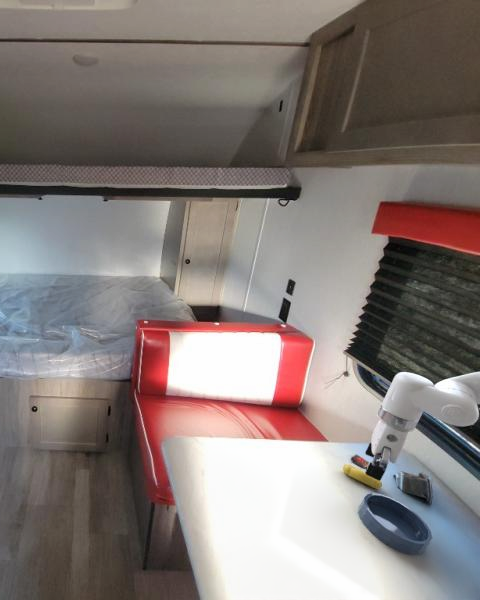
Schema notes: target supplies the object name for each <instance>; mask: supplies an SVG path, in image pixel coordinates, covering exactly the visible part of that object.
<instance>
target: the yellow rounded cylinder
mask: <svg viewBox="0 0 480 600" xmlns="http://www.w3.org/2000/svg"><path fill="white" fill-rule="evenodd" d="M342 472H343V473H344V475H347V476H349V477H350V478H352V479H355V480H357V481H358V482H361V483H362V484H365V485H367V486H369V487H371V488H372V489H375V490H376V489H377V490H379V489H381V488H382V487H383V482H382V480H380V481H379V480H377V479H374V478H372V477H370V476H368V475H366V474H365V472H366V471H364V470H362V469H360V468H357V467H355V466H353V465H351V464H345V465H343V466H342Z"/></svg>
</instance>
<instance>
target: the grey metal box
mask: <svg viewBox="0 0 480 600" xmlns="http://www.w3.org/2000/svg"><path fill="white" fill-rule="evenodd" d="M395 472H396V474H393V475H392V476H393V478H394V477H395V478H394V479H396V480H395V483H396V487H397V488H399V489H400V491H401V492H403V493H406V494H410V495H413V496H416V497H417V496H418V497H420V498H424V499H425V500H426V502H427V503H429V505H431V506H432V504H433V499H434V494H433V493H434V491H433V478H432V477H431V476H430V475H428V474H427V473H426V472H424V471H422V472H419V473H418V475H416V474H412V473H408V472H405V471H402V470H396V471H395Z"/></svg>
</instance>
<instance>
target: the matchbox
mask: <svg viewBox="0 0 480 600" xmlns="http://www.w3.org/2000/svg"><path fill="white" fill-rule="evenodd" d="M350 460H351V461H352V462H353V463H355V464H357V465H358V466H360V467H361V468H366V467H367V465H368V466H369V464H370V461H368V460H367V459H365V458H364V457H362V456H361V455H359V454H357V453H356V454H354V455H353V456H351V458H350Z"/></svg>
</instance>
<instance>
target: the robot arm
mask: <svg viewBox="0 0 480 600" xmlns="http://www.w3.org/2000/svg"><path fill="white" fill-rule="evenodd" d="M391 381H392V382H391V383H390V385H389V387H388V390H387V392H386V394H385V396H384V398H383V400H382V402H381V404H380V406H379V409H378V411H377V413H376V417H377V418H378V419H379V420H378V422H377V423H376V424H375V425H376V426H375V427H374V429H373V432H372V434H371V439H370V440H371V441H370V442H369V444H368V446H367V448H366V450H365V455H366V456H369V457H370V458H373V459H372V461H369V463H370V464H369V465H368V468H366V470H365V471H364V472H365V474H366V475H368V476H370V477H372V478H374V479H377V480H379V481H382V478H383V476H385V472H386V471H387V469H388V464H389V462H390V463H391V464H396V463H397V461H398V459H399V457H400V454H401V452H402V450H403V448H404V445H405V443H406V440H407V438H408V433H410V432H413V431H414V430H415V428H416V427H417V425H418V423H419V421H420V419H421V417H422V415H423V413H426V414H428V415H430V416H432V417H433V418H435V419H437V420H439V421H441V422H443V423H446V424H448V425H450V426H455V427H468V426H472V425H474V424H476V423H477V421H478V420H479V417H480V412H479V407H478V405H480V371H475V372H471V373H466V374H462V375H458V376H453V377H449V378H446V379H443V380H441V381H439V382H436V383H435V384H434V383H433V382H432V381H431V380H430V379H428V378H427V377H424V376H422V375H420V374H416V373H413V372H407V371H400V372H398V373H396V374H395V376H393V379H392V380H391Z"/></svg>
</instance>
